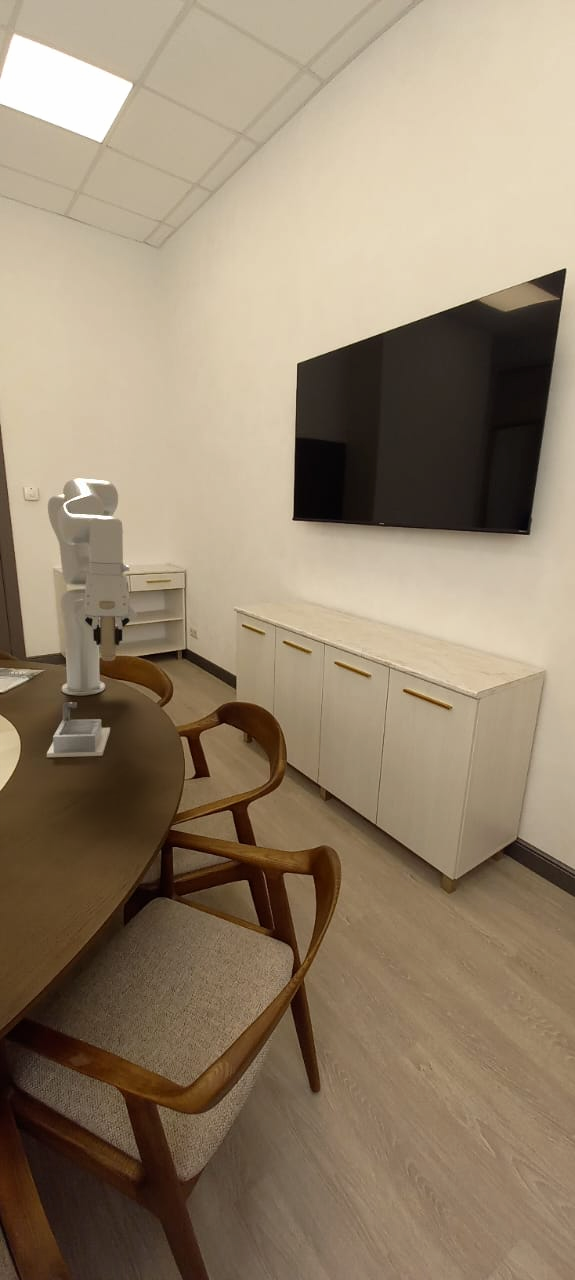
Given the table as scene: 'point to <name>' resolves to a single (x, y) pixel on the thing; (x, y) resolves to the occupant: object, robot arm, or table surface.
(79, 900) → the table surface
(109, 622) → the handle
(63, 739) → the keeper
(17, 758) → the table surface
